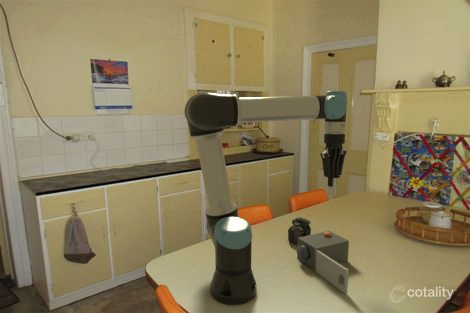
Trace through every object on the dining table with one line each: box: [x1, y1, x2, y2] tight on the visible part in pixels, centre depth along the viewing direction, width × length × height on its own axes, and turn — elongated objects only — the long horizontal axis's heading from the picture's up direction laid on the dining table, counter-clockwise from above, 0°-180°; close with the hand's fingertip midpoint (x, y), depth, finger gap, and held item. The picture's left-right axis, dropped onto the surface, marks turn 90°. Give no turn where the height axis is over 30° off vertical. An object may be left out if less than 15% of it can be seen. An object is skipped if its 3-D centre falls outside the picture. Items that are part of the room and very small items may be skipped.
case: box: [296, 230, 350, 270], centre depth 126 cm, size 18×11×10 cm, turn 116°
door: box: [313, 250, 350, 294], centre depth 110 cm, size 16×2×8 cm, turn 23°
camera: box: [287, 216, 312, 246], centre depth 146 cm, size 13×10×10 cm
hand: (331, 194), depth 124 cm, fingers closed
